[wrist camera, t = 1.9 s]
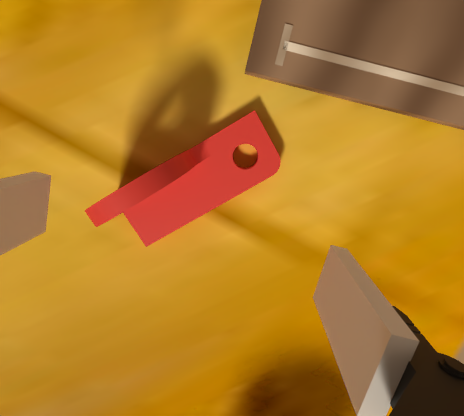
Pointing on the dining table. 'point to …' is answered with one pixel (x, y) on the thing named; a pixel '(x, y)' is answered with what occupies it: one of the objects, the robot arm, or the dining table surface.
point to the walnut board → (367, 53)
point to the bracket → (191, 182)
